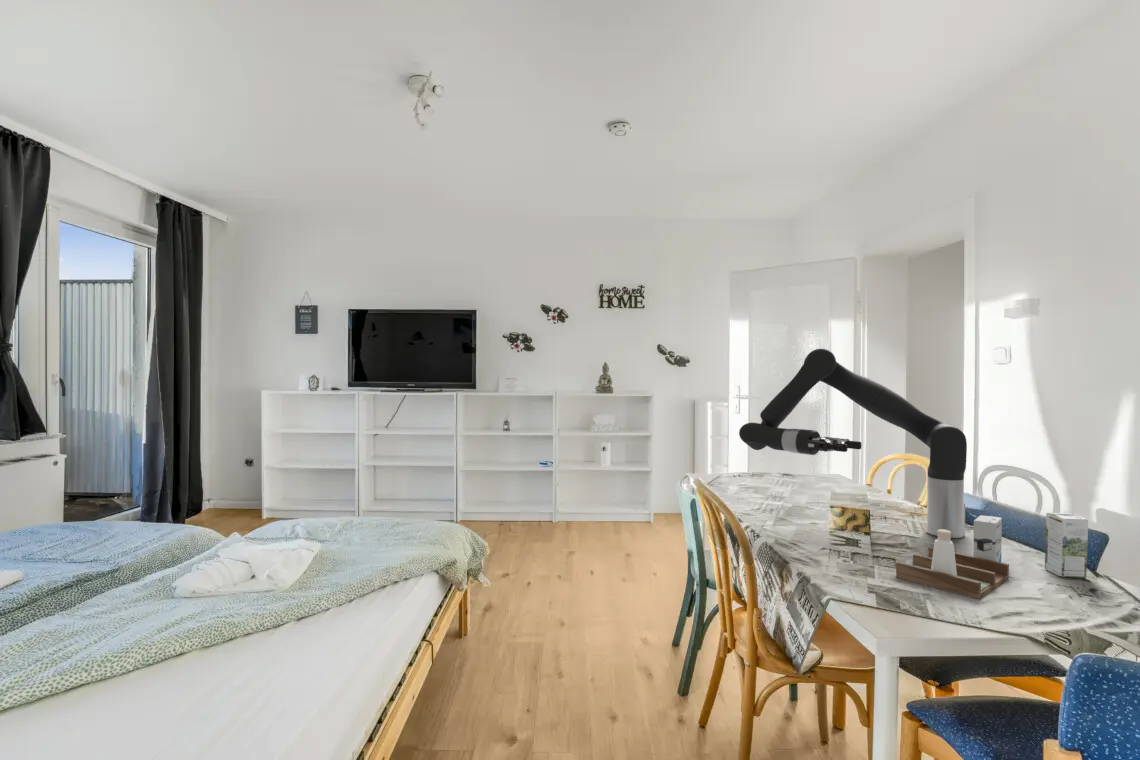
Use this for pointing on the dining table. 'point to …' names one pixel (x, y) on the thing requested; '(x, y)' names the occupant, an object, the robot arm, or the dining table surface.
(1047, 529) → the syrup box
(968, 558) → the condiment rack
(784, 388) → the robot arm
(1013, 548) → the dining table surface
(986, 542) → the ink box
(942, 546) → the salt shaker
